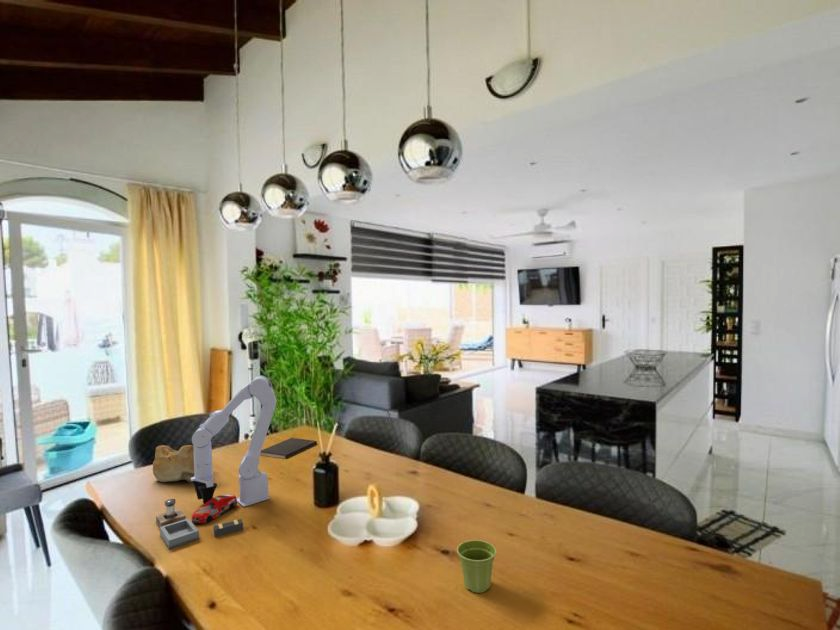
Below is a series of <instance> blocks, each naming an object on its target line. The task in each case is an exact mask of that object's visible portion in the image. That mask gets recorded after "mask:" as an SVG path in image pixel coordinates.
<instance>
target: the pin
mask: <svg viewBox="0 0 840 630" xmlns="http://www.w3.org/2000/svg"><path fill="white" fill-rule="evenodd" d="M175 504H176V499H175V498H169V499H166V500H165V501H164V506H165V511H166V512H165V513H166V519H169V518H172V517H175V510H176V509H175V508H176V507H175Z"/></svg>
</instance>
